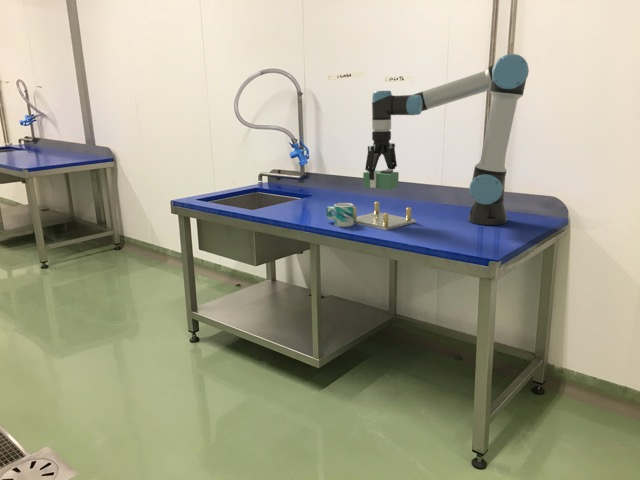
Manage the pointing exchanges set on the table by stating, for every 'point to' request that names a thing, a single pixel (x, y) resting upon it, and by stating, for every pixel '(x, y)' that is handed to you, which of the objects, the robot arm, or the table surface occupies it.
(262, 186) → the table surface
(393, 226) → the chassis
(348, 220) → the mug
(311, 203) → the table surface
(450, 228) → the table surface
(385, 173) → the green control box
